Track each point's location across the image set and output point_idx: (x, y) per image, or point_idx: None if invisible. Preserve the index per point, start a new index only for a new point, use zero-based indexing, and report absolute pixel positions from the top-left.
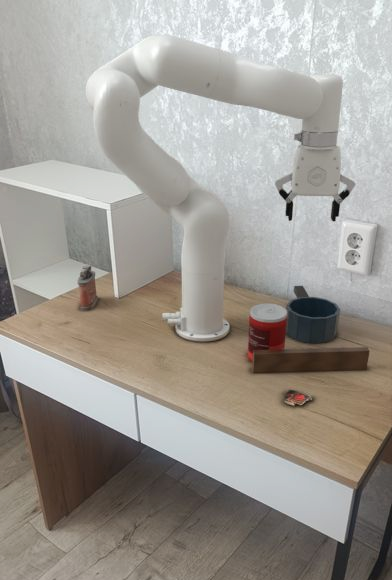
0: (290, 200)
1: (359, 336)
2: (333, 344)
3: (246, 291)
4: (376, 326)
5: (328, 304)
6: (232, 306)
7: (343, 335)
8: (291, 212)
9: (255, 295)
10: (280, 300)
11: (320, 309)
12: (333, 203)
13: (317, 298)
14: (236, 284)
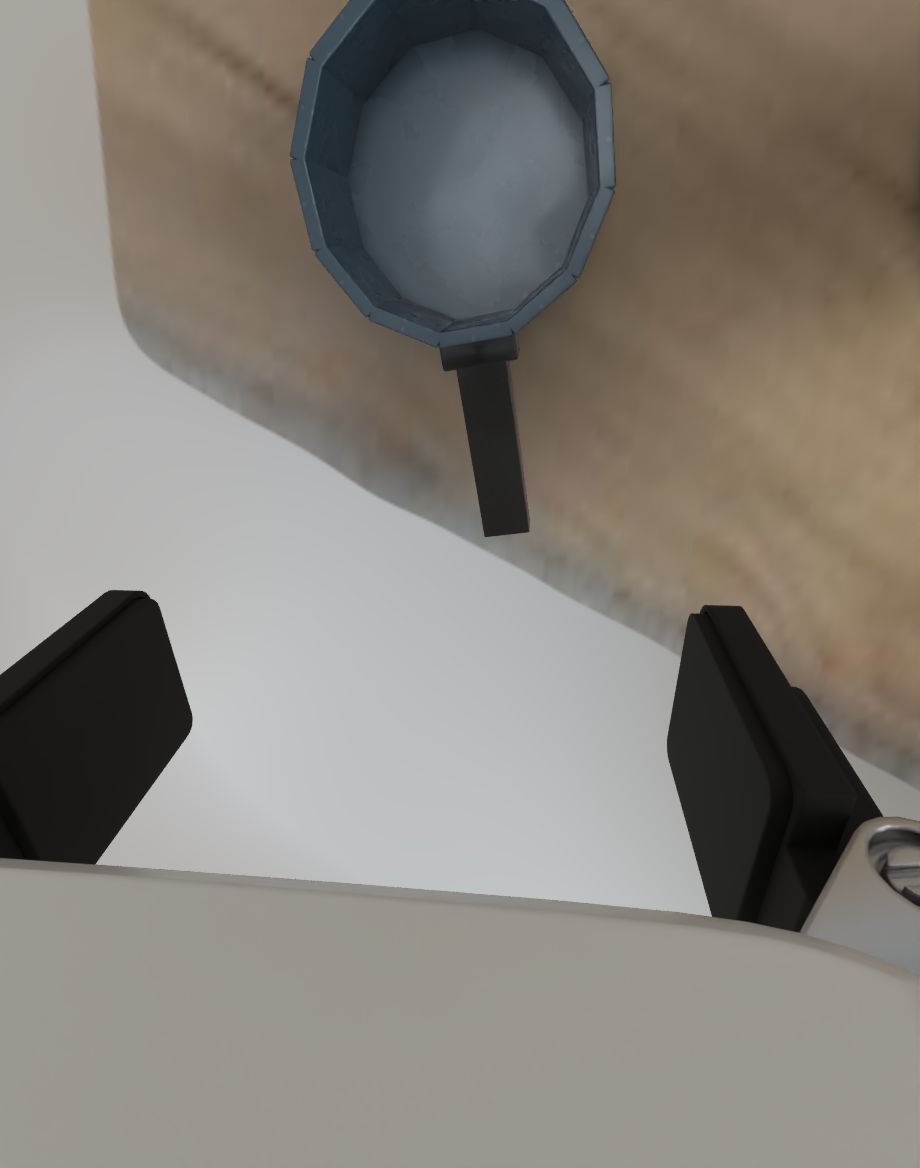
0: (865, 871)
1: (229, 164)
2: None
3: None
4: (162, 299)
5: (359, 279)
6: (829, 457)
7: None
8: (745, 672)
9: (689, 582)
10: (580, 539)
11: (406, 308)
12: (15, 802)
13: (417, 324)
14: None
